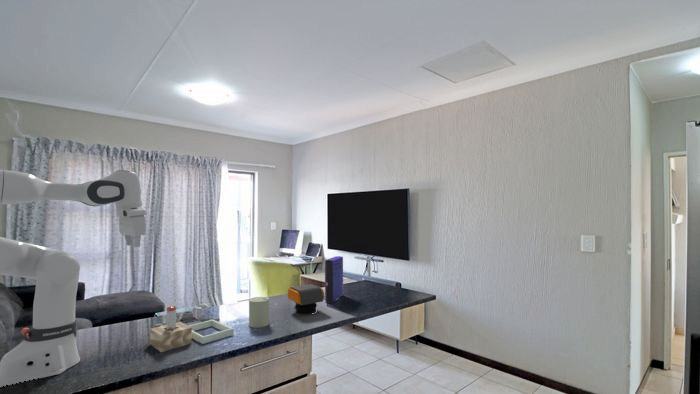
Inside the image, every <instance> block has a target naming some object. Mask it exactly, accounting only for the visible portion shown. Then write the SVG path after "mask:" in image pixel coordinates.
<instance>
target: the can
mask: <svg viewBox="0 0 700 394" xmlns="http://www.w3.org/2000/svg"><path fill="white" fill-rule="evenodd" d="M269 325H270V297H268V296H255V297H251V298H250V299H248V327H250V328H255V329H258V328H259V329H261V328H265V327H266V326H269Z"/></svg>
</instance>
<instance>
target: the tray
mask: <svg viewBox="0 0 700 394" xmlns="http://www.w3.org/2000/svg"><path fill="white" fill-rule="evenodd" d="M188 326H190V327H191V328H192V339H193V340H195V341H196V342H198V343H200V344H202V345H203V344H207V343H210V342H213V341H217V340H220V339H224V338H226V337H227V338H228V337H230V336H231V337H234V327H231V326H229V325H227V324H224V323H222V322H219V321H215V320H209V321H205V322H201V321H200V322H198V323H194V324H190V325H188ZM210 327H211V328H214V329H216V330H219V331H217V332H213V333H211V334H207V335H202V334H200V333H198V332H197V331H199V330H203V329H206V328H210Z"/></svg>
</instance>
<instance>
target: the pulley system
mask: <svg viewBox="0 0 700 394" xmlns="http://www.w3.org/2000/svg"><path fill="white" fill-rule="evenodd" d="M197 316H198V317H197V318H196V317H195V314H194V311H184V312H182V315H181V316H180V313H179V312H176V322H182V323H184V324H186V323H194V322H198V321H199V322H200V323H201V322H205V321H209V320H215V321H217V322H219V321H220V317H213V318H205V317H206V316H205V314H199V315H197ZM180 317H181V318H180ZM164 325H167V322H165V323H155V324H154V327H153V328H156V327H160V326H164Z"/></svg>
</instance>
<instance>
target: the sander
mask: <svg viewBox="0 0 700 394" xmlns="http://www.w3.org/2000/svg"><path fill="white" fill-rule="evenodd" d="M287 299H288V300H290V301H292V302H294V303H295V305H294V308H295V310H294V314H295V315H296V314H299V315H298V316H310V315H309V314H312V313H315V312H316V309H317V307H318V305H317V303H323V302H324V300H325V290H324V289H323V288H322V287H320V286H318V285H315V284H313V283H308V284H303V285H301V284H300V285H296V286H294V285H292V286H290V287H289V288H288V290H287ZM315 314H316V313H315Z"/></svg>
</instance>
